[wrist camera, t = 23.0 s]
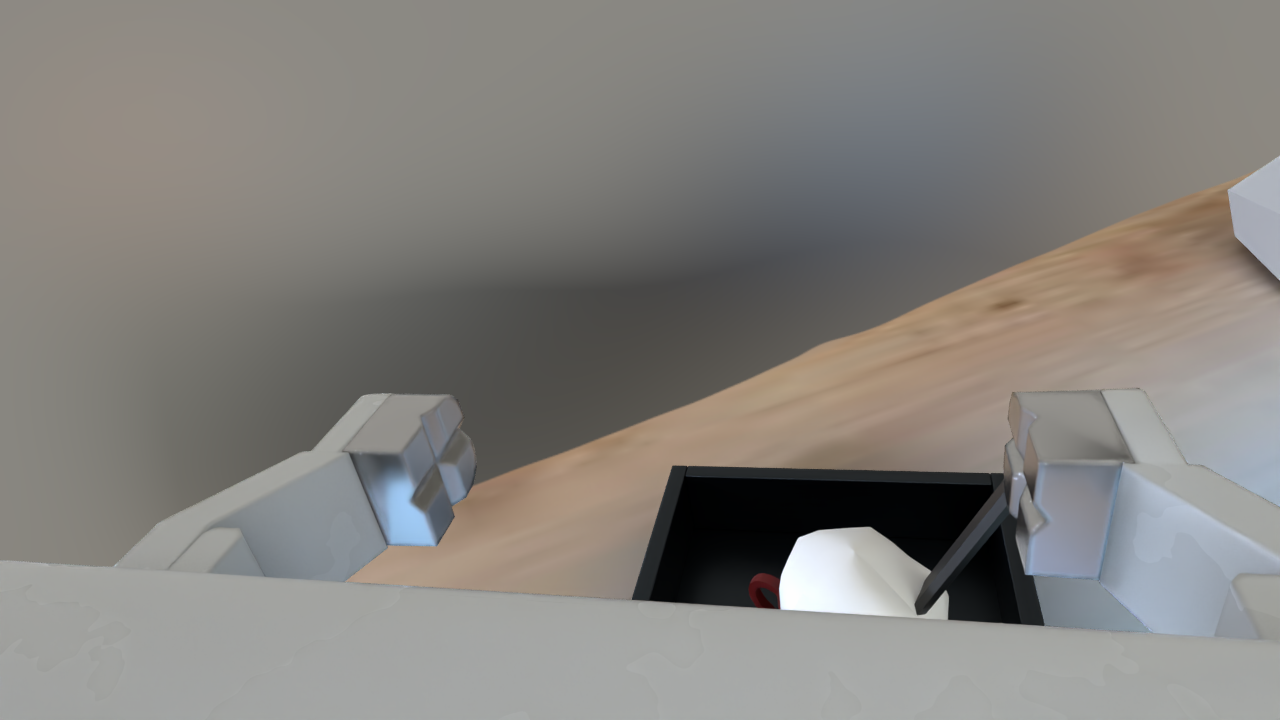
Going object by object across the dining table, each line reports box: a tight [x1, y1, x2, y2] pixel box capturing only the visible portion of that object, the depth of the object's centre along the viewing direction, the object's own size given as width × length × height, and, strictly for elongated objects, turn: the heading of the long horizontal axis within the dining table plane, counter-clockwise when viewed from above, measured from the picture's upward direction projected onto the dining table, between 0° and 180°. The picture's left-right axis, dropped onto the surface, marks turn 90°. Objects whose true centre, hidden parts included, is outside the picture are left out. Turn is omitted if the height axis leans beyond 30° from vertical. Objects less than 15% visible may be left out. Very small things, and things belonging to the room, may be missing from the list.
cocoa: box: [749, 480, 1009, 620], centre depth 29 cm, size 10×6×12 cm, turn 37°
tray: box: [632, 466, 1045, 626], centre depth 32 cm, size 16×18×4 cm
